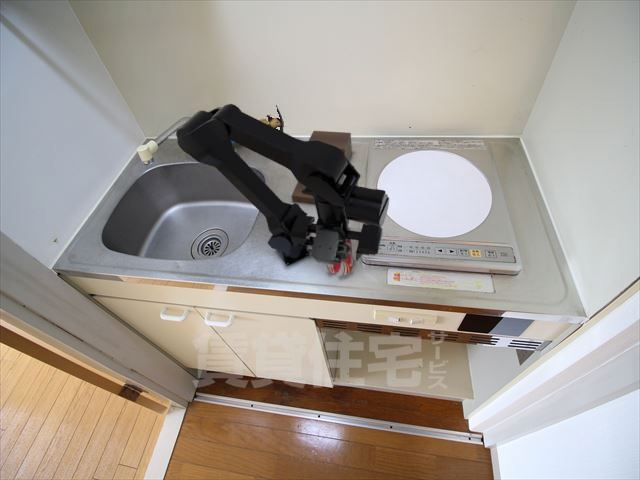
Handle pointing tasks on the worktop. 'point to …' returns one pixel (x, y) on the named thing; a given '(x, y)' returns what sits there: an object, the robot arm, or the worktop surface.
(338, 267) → the beverage can
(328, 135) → the step shelf
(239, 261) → the worktop surface
